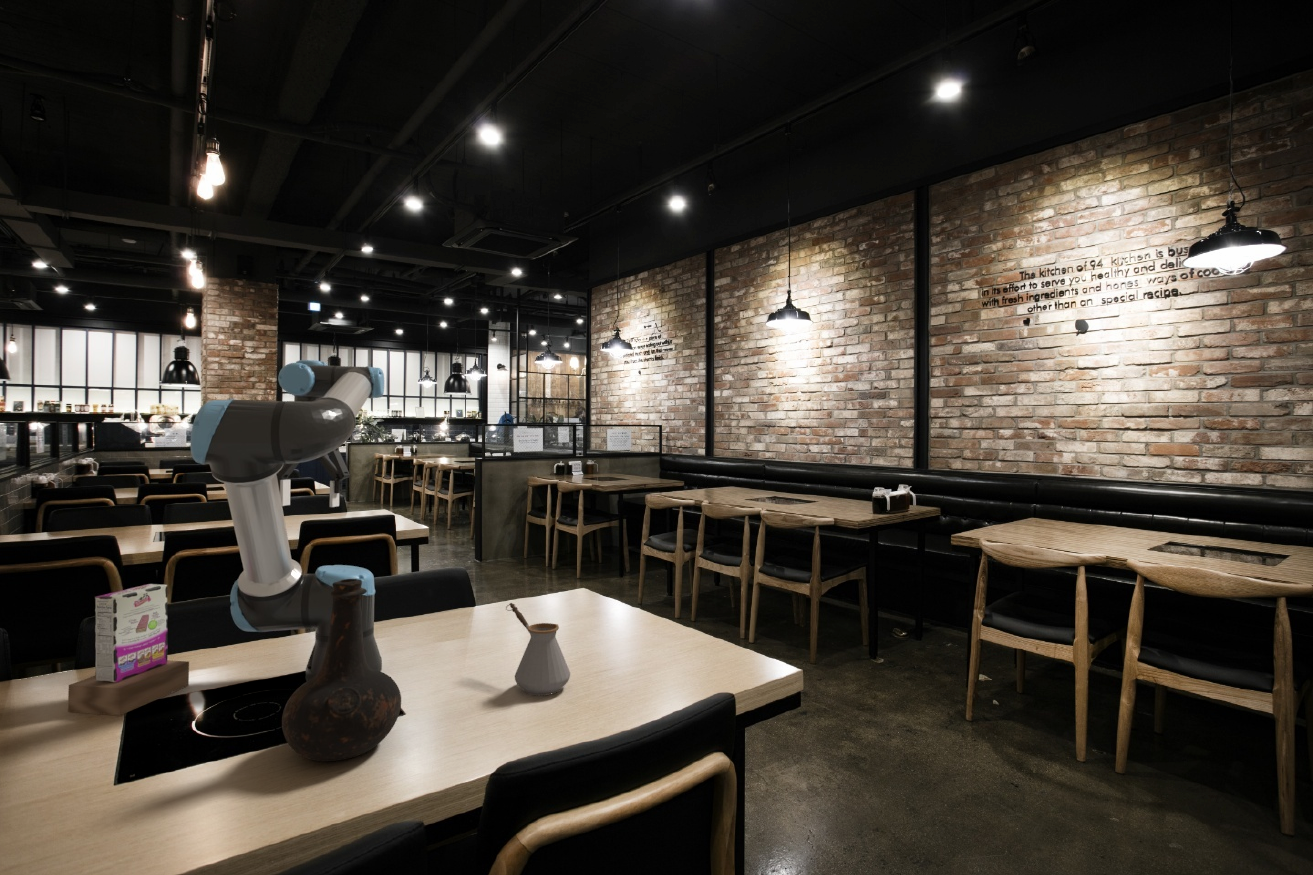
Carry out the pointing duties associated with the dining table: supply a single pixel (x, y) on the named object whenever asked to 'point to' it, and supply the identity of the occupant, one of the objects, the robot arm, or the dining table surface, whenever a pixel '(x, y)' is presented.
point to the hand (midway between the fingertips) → (309, 506)
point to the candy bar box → (130, 632)
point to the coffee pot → (541, 660)
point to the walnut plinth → (127, 690)
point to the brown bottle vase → (342, 691)
